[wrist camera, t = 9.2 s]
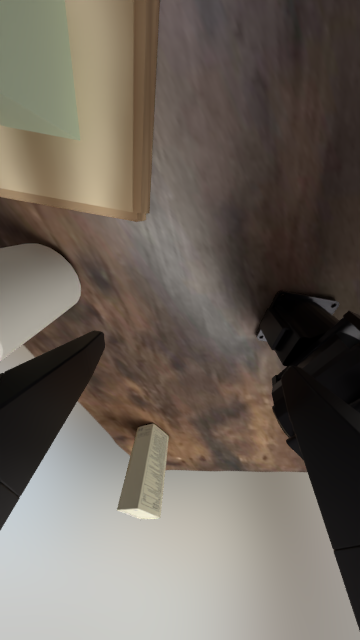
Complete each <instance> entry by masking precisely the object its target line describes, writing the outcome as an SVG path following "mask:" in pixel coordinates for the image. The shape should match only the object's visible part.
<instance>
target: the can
mask: <svg viewBox="0 0 360 640" xmlns="http://www.w3.org/2000/svg"><path fill="white" fill-rule="evenodd" d="M80 295H81V285H80V282H79V279H78V275H77V274H76V272H75V271H74V269H73V267H72V266H71V264H70V263H69V262H68V261H67V260H66V259H65V258H64V257H63V256H62V255H60V254H59V253H57V252H56V251H54V250H53V249H51V248H49V247H46V246H43V245H41V244H36V243H26V244H20V245H15V246H10V247H4V248H0V361H1V360H3V359H4V358H6V357H7V356H8V355H9V354H11V353H12V352H13V351H15V350H16V349H17V348H19V347H20V346H21V345H23V344H24V343H25V342H26V341H28V340H29V339H30V338H32V337H33V336H34V335H36V334H37V333H38V332H40V331H41V330H42V329H43V328H45V327H46V326H47V325H49V324H50V323H51V322H53V321H54V320H55V319H57V318H58V317H59V316H61V315H62V314H63V313H64V312H66V311H67V310H68V309H70V308H71V307H72V306H73V305H75V304H76V303H77V302H78V300H79V298H80Z"/></svg>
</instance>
